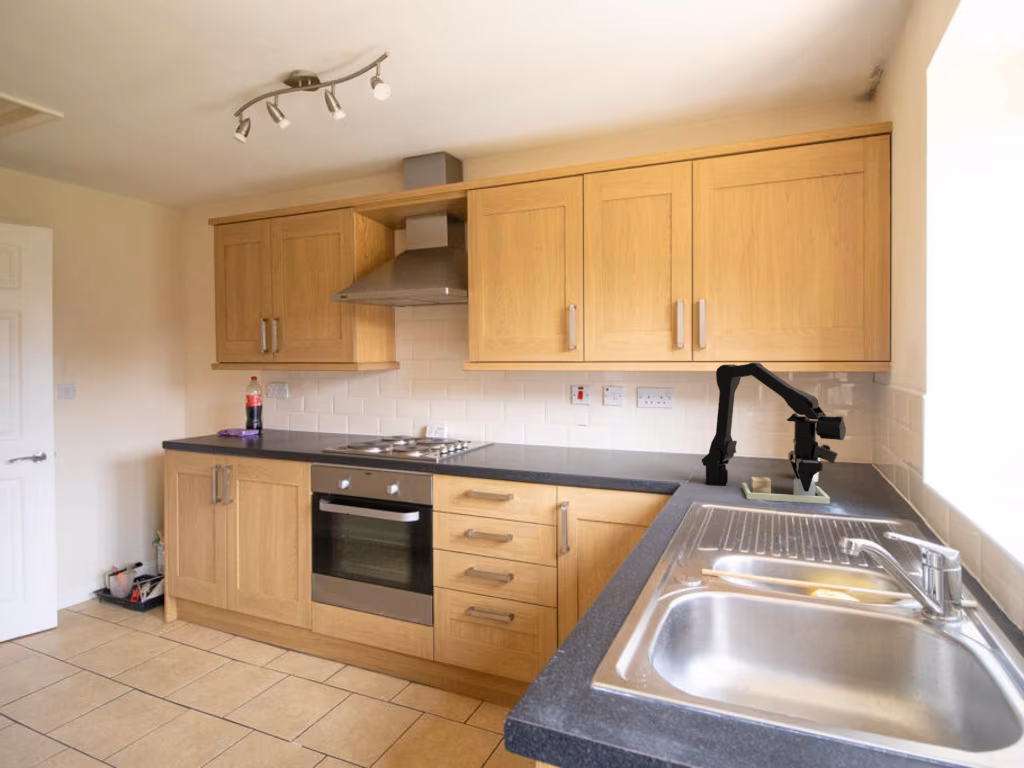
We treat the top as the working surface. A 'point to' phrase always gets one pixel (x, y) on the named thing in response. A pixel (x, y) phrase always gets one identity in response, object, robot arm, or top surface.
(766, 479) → the beech block
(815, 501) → the tray
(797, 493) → the blue block
